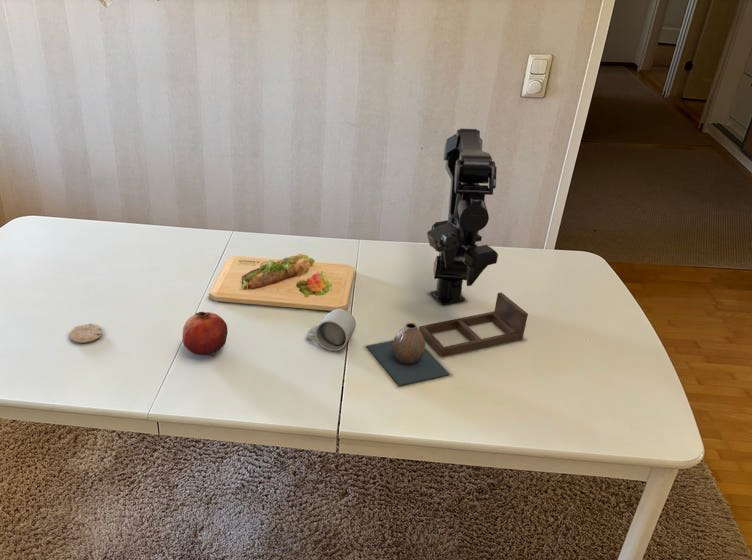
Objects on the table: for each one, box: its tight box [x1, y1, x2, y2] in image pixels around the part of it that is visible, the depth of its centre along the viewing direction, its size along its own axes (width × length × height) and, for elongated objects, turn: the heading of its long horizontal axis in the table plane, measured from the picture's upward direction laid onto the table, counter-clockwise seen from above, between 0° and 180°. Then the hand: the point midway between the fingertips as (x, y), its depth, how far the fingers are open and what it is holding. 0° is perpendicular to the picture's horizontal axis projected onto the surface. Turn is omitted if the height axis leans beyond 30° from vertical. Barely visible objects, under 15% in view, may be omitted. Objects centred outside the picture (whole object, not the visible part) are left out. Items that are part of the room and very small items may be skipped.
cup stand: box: [418, 291, 529, 358], centre depth 167 cm, size 11×21×7 cm, turn 109°
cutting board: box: [208, 253, 355, 312], centre depth 188 cm, size 35×23×8 cm
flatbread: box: [68, 323, 103, 343], centre depth 171 cm, size 8×8×1 cm
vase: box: [392, 322, 426, 364], centre depth 159 cm, size 7×7×9 cm
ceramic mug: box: [306, 309, 357, 352], centre depth 166 cm, size 11×8×8 cm
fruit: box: [181, 311, 229, 356], centre depth 163 cm, size 11×10×10 cm
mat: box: [366, 340, 450, 387], centre depth 161 cm, size 16×12×1 cm
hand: (458, 276), depth 166 cm, fingers open, 9 cm apart
